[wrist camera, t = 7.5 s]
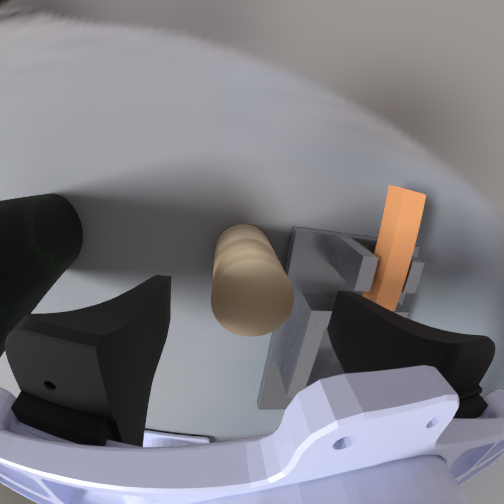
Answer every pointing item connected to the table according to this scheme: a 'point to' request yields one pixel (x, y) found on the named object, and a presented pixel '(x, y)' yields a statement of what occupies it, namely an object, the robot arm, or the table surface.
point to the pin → (395, 245)
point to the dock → (319, 308)
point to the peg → (249, 283)
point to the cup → (33, 253)
